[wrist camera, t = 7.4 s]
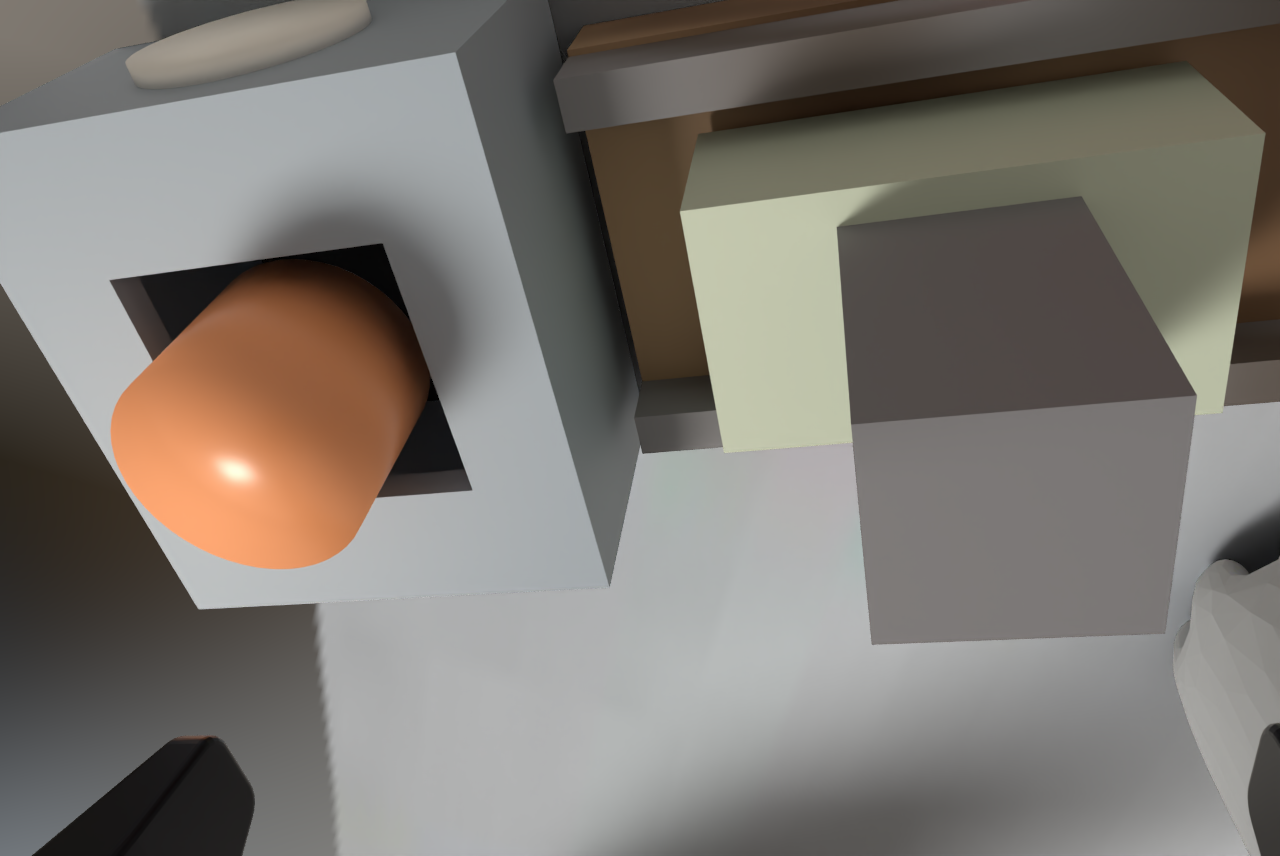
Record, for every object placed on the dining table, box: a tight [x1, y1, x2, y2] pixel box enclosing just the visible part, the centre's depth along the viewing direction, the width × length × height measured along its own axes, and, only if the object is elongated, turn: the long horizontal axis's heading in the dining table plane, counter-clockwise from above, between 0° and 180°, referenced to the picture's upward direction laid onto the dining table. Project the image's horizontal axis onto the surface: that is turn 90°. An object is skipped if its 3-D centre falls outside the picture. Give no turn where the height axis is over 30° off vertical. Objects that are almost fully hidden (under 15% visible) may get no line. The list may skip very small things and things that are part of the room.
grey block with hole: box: [0, 0, 640, 609], centre depth 18 cm, size 8×9×5 cm
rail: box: [553, 0, 1280, 454], centre depth 15 cm, size 20×7×5 cm, turn 101°
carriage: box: [680, 61, 1265, 645], centre depth 13 cm, size 7×4×8 cm, turn 101°
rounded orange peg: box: [110, 259, 430, 569], centre depth 15 cm, size 4×4×3 cm
